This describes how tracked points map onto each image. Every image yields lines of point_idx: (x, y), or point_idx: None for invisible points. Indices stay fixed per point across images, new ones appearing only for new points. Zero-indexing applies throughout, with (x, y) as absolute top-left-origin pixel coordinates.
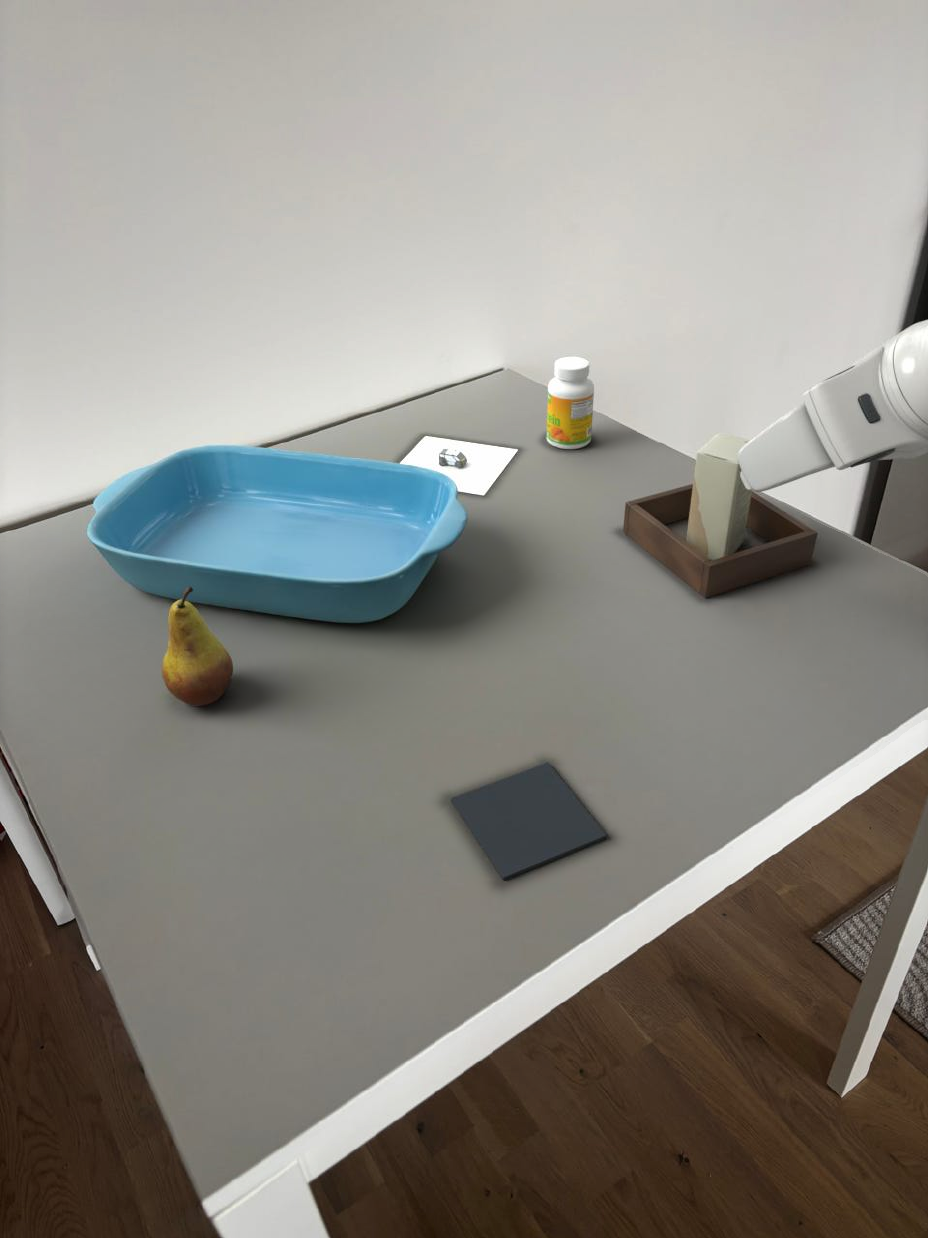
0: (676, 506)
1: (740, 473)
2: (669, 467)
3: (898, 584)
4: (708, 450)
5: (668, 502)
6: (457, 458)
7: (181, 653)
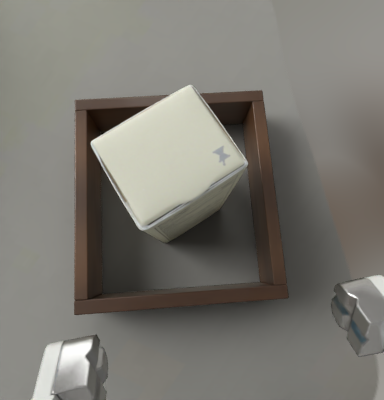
0: None
1: (48, 344)
2: (240, 9)
3: (353, 386)
4: (115, 148)
5: None
6: None
7: None
